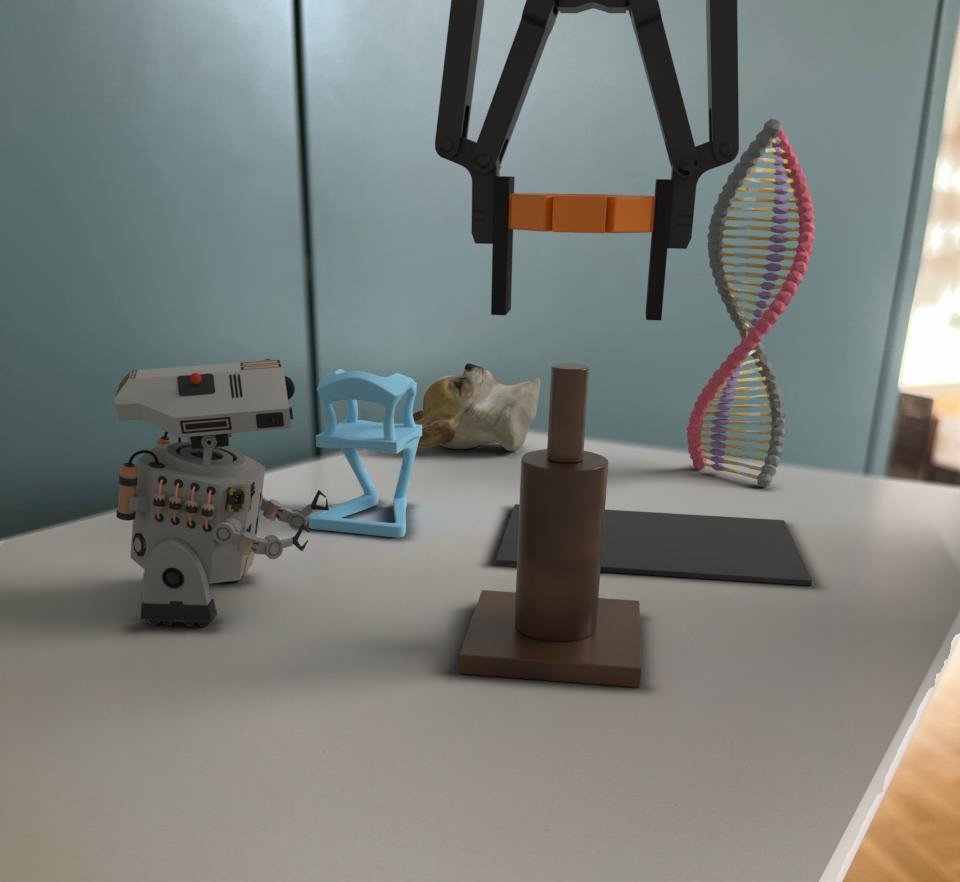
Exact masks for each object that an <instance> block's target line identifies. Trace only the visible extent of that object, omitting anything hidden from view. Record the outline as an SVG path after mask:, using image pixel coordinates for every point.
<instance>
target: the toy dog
mask: <svg viewBox="0 0 960 882" xmlns="http://www.w3.org/2000/svg"><path fill="white" fill-rule="evenodd" d="M541 384H542V383H541V379H540V378H539V377H536V378H534V379H531V380H527V381H522V382H519V383H517V384H512V385H511V384H510V385H508V384H507V385H506V384H502V383H500V382H498V381H497V380H496V378H495V377H494V376H493V374H492V373H491V372H490V371H489V370H487V369H485V368H484V367H483V366H478V365H476V364H473V363H470V362H468V363H466V364H465V365H464V368H463V371H462V375H451V374H450V375H444V376H442V377H440V378H438V379H436V380H435V381H434V382H433V383H431V384H430V386H429V387H428V388H427V390H426V391H425V392H424V396H423V400H422V410H419V411H416V412H414V413H413V412H412V414H413V419H414V422H415V424H418V425H422V436H421V437H420V439H419V443H418V447H419V448H433V447H438V446H442V447H444V448H446V449H447V448H448V449H454V450H455V449H457V450H467V449H472V448H476V447H478V446H479V447H480V446H481V445H487V444H498V445H500V446H502V447H503V448H504V450H506V451H508V452H514V451H518V450H520V449H521V448H522V447H523V446H524V444H525V442H526V438H527V435H528V433H529V429H530V427H531V425H532V423H533V421H534V420H535V419H536V415H537V411H538V410H537V409H538V403H539V402H538V401H539V397H540V391H541V390H540V389H541ZM418 447H417V448H418Z"/></svg>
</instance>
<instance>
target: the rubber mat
mask: <svg viewBox="0 0 960 882" xmlns="http://www.w3.org/2000/svg"><path fill="white" fill-rule="evenodd" d="M518 528H519V503H515V504H514V506H513V508H512V511H511V514H510V516H509V520H508V522H507V525H506V528H505V532H504V535H503V538H502V540H501V543H500V546H499V549H498V552H497V555H496V558H495V565H496V566H507V567H517V553H518ZM600 573H614V574H615V573H616V574H628V575H629V574H631V575H646V576H660V577H661V576H662V577H674V578H675V577H678V578H692V579H704V580H705V579H706V580H721V581H736V582H737V581H738V582H752V583H764V584H765V583H766V584H767V583H768V584H783V585H797V586H798V585H799V586H812V585H813V579H812V576H811V575H810V573H809V571H808V568H807V567H806V564H805V562H804V559H803V558H802V555H801V553H800V551H799V549H798V547H797V545H796V542H795V541H794V539H793V537H792V534H791V532H790V530H789V528H788V525H787V523H786V521H785V519H774V518H773V519H771V518H756V517H754V518H753V517H737V516H722V515H721V516H719V515H703V514H690V513H689V514H687V513H670V512H653V511H638V510H637V511H636V510H635V511H634V510H620V509H619V510H617V509H605V516H604V530H603V543H602V556H601V570H600Z"/></svg>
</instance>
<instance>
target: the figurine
mask: <svg viewBox="0 0 960 882" xmlns="http://www.w3.org/2000/svg"><path fill="white" fill-rule="evenodd" d="M295 392H296V387H295V383H294V381H293V380H292V379H291V378H290V377H288V376H287V375H285V368H284V363H283V361H282V359H271V358H266V359H262V360H252V361H241V362H240V361H238V362H227V363H213V364H198V365H187V366H185V365H184V366H171V367H159V368H157V367H156V368H146V369H145V368H143V369H132V370H130V371H129V372H128V373H127V375H126V376H125V377H124V378H123V379H122V380H121V382H120V383H119V385H118V387H117V390H116V393H115V396H114V405H115V410H116V411H115V412H116V414H117V419H118V422H125V421H126V422H127V421H128V422H129V421H139V420H143V421H144V422H146V423H149V424H151V425H153V426H154V427H157V428H158V429H160V430H162V431H164V435H162V436H157V439H156V446H154V447H153V448H151V449H150V450H148V449H142V450H138V451H135V452H134V453H133V454H131V456H130V458H129V460H128V462H123V463H121V464H120V470H119V471H120V472H119V476H118V484H119V487H118V500H117V501H118V503H117V504H118V505H117V509H116V512H115V513H116V515H115V516H116V518H117V519H118V520H122V521H132V530H131V531H132V532H131V544H130V545H131V546H130V559H131V560H132V561H134V562H135V563H136V564H137V565H139V566H140V567H141V568H143V576H142V577H143V578H142V591H143V593H142V594H143V601H142V603H141V604H140V620H142V621H148V622H149V624H151V625H153V626H157V625H159V623H160V622H161V621H162V623H163V624H164V625H165V626H167V627H168V626H172V625H173V623H174V622H183V624H184V625H185V626H186V627H192V626H194V625H195V623H197V625H198V626H199V627H201V628H205V627H207V626H208V624H209V623H213V621H214V620H215V618H217V616H218V611H217V607H216V603H215V599H214V598H212V595H211V589H210V585H211V584H212V585H213V584H218V583H227V582H232V583H234V584H236V583H239V582H240V580H241V579H244V578H245V576H246V575H247V574H248V572H249V570H250V568H251V567H252V565H253V561H254V560H255V555H265V556H266V557H267V558H268V559H269V560H276V559H279V557H281V555H282V553H283V551H284V549H286V548H289V547H292V546H295V547H296V548H297V550H299V551H301V552H303V551H304V550H305V548H306V546H307V545H308V542H309V539H307V540H306V541H305V542H304V543H303V544H302V545H301V544H300V542H299V538H300V537H301V534H302V533H303V531H305V532H307V533H308V534H309V533H310V531H309V530H308V528H307V525H308V520H307V517H309V516H310V515H311V514H313V513H314V511H321V510H329V502H328V498H327V497H328V496H326V495H325V494H324V493H323V492H322V491H321V490H319V489H318V490H317V491H316V494H315V496H314V498H313V499H312V502H311V504H310V503H308V504H307V505H306V506H305V507H303V508H302V509H301V510H300V509H297V508H292V509H291V508H288V507H287V506H285V505H282V503H281V502H279V501H278V500H276V499H274V498H271V499H267V498H265V497H264V495H263V491H264V489H263V488H264V482H265V474H266V466H265V465H263V464H261V463H260V462H258V461H257V460H255V459H254V458H251V457H250V456H248V455H244V454H242V453H241V452H240V451H238V450H236V449H233V448H231V447H229V446H230V441H229V440H230V439H229V438H232V434H238V433H249V432H259V431H272V430H283V429H284V430H285V429H291V428H292V424H291V420H294V415H293V413H294V412H293V408H292V407H290V406H289V405H290V404H289V400H290V399H292V397H294V394H295ZM168 434H171V435H172V436H174V437H176V438H177V442H174V443H173V438H171V437H170V436H168ZM182 438H187V440H188V441H182ZM140 454H143V455H142V456H141V457H139V458H138V459H136V460H137V461H136V464H134V463H133V460H134V459H135V458H136V457H137V456H139V455H140ZM320 496H322V497H323V498H325V506H323V505H320V504H317V503H318V500H319V497H320ZM261 511H262V515H263V516H264V517H265V518H266V519H267V520H269V521H275V520H278V521H279V522H282V523H286V524H288V526H289V527H290V528H291V529H292V530H295V531H296V533H295V535H293V536H291V537H288V538H284V539H280V538H278V537H277V535H275V534H268V535H266V536H265V537H264V538H262V537H259V536H258V532H259V531H258V530H259V522H260V514H261Z"/></svg>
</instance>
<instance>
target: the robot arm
mask: <svg viewBox="0 0 960 882" xmlns="http://www.w3.org/2000/svg"><path fill="white" fill-rule="evenodd" d="M484 8H485V0H450V9H449V17H448V25H447V34H446V43H445V51H444V61H443V68H442V78H441V86H440V95H439V104H438V112H437V121H436V129H435V130H436V131H435V139H434V150H435V152H436V154H437V155H438V156H439V157H440V158H442V159H444V160H447V161H450V162H452V163H454V164H457V165H459V166H462V167H463V168H465V170H467V171H468V173H469V175H470V178H471V236H472V238H473V242H474V244H476V245H477V244H479V245H481V244H482V245H484V244H485V245H492V252H491V253H492V255H491V299H490V300H491V301H490V315H491V316H507V315H508V314H509V312H510V311H511V310H512V285H513V284H512V283H513V282H512V281H513V250H514V249H513V248H514V247H513V246H514V229H508V215H509V194H512V193H515V179H516V178H515V176H512V175H511V176H510V175H509V176H507V175H506V176H503V175H502V176H501V175H500V171H501V168H502V166H501V165H502V163H503V160H504V157H505V153H506V152H507V149H508V146H509V144H510V141H511V138H512V135H513V133H514V130H515V127H516V124H517V122H518V120H519V117H520V114H521V112H522V109H523V106H524V103H525V102H526V101H525V100H526V98H527V95H528V94H529V90H530V87H531V85H532V83H533V80H534V76H535V74H536V71H537V69H538V66H539V63H540V60H541V58H542V56H543V52H544V50H545V47H546V44H547V42H548V39H549V37H550V35H551V34H552V32H553V29H554V27H555V24H556V22H557V19H558V15H559V13H560V14H578V13H579V14H580V13H583V12H585V11H590V10H593V9H595V10H598V11H600V12H601V11H602V12H604V13H607V14H627V12H628V14H629V19H630V21H631V25H632V30H633V32H634V35H635V39H636V42H637V46H638V49H639V53H640V58H641V60H642V65H643V68H644V71H645V75H646V79H647V84H648V86H649V90H650V95H651V98H652V101H653V106H654V109H655V114H656V117H657V120H658V124H659V127H660V131H661V135H662V138H663V142H664V146H665V150H666V153H667V158H668V160H669V161H668V162H669V165H670V168H671V169H670V170H671V171H670V179H667V178H666V179H665V178H655V184H654V185H655V186H654V187H655V189H654V196H655V197H656V202H655V215H654V228H653V232H651V238H650V249H649V261H648V274H647V286H646V288H647V289H646V300H645V301H646V302H645V312H644V314H645V320H646V321H662V318H663V305H664V292H665V284H666V283H665V281H666V269H667V267H666V266H667V257H668V249H678V250H679V249H680V250H686V249H687V248H688V247H689V245H690V242H691V240H692V238H693V237H692V236H693V225H694V216H695V215H694V214H695V203H696V193H697V185H698V182H699V179H700V178H701V176H702V175H703V174H704V173H706V172H708V171H710V170H713V169H715V168H718V167H722V166H724V165H727V164H729V163H731V162H733V161H734V160H735V159H736V158H737V156H738V154H739V151H740V122H739V121H740V120H739V119H740V118H739V115H740V113H739V109H740V108H739V107H740V106H739V37H738V35H739V29H738V27H739V26H738V23H739V22H738V0H705V20H706V24H705V25H706V61H707V62H706V67H707V68H706V69H707V110H708V111H707V112H708V113H707V114H708V115H707V116H708V118H707V119H708V141H707V142H704V143H702V144H698V145H696V144H695V141H694V137H693V133H692V129H691V126H690V125H691V124H690V121H689V117H688V114H687V110H686V107H685V106H686V105H685V102H684V98H683V94H682V90H681V86H680V83H679V79H678V75H677V72H676V68H675V63H674V60H673V56H672V53H671V48H670V44H669V41H668V36H667V34H666V29H665V25H664V21H663V17H662V12H661V8H660V3H659V0H526V1H525V3H524V5H523V9H522V12H521V18H520V20H519V24H518V27H517V29H516V33H515V35H514V38H513V41H512V44H511V46H510V49H509V52H508V54H507V57H506V59H505V63H504V66H503V69H502V71H501V74H500V77H499V80H498V82H497V85H496V87H495V90H494V94H493V96H492V99H491V101H490V104H489V107H488V110H487V113H486V116H485V117H484V121H483V124H482V126H481V129H480V133H479V135H478V138H477V141H474V140H472V139H470V138H468V134H469V127H470V119H471V113H472V112H471V111H472V103H473V97H474V87H475V80H476V71H477V65H478V55H479V48H480V41H481V32H482V26H483V17H484Z"/></svg>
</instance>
